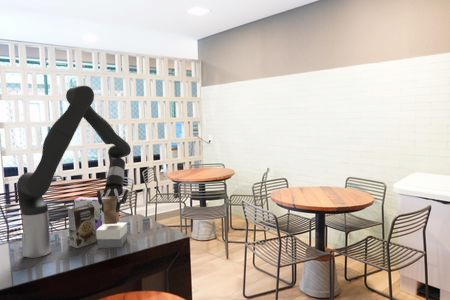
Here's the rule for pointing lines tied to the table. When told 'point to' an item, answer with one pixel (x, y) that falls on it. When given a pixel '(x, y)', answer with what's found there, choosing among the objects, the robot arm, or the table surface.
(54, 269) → the table surface
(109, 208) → the walnut block
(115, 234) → the tower top slab
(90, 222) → the coffee box
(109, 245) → the tower base slab
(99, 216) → the candy box
